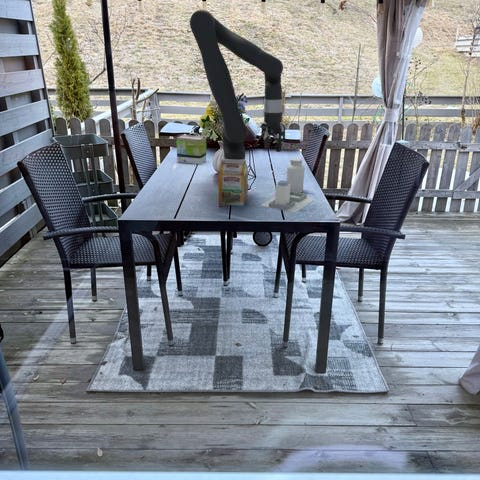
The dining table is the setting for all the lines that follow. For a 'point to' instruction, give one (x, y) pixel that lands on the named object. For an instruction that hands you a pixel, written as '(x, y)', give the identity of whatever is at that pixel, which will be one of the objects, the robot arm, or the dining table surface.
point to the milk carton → (233, 182)
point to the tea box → (191, 149)
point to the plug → (282, 193)
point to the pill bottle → (295, 175)
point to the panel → (290, 202)
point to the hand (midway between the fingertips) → (272, 149)
